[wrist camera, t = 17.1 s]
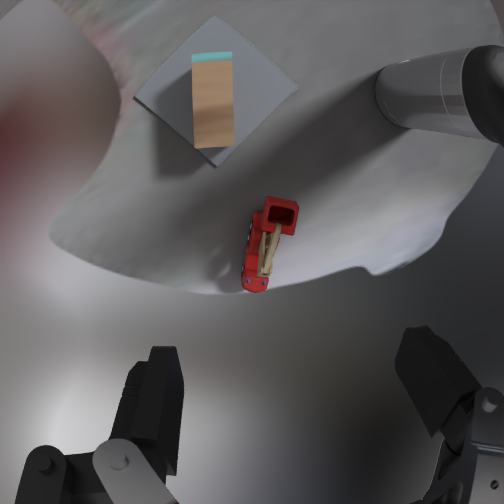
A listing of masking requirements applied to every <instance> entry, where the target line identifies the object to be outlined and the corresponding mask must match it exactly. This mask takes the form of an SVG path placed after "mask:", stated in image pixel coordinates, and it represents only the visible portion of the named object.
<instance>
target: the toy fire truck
mask: <svg viewBox="0 0 504 504" xmlns="http://www.w3.org/2000/svg"><path fill="white" fill-rule="evenodd" d="M298 212H299V206H298V204H297V202H295V201H290V200H284V199H280V198H275V197H270V196H267V197H266V200H265V205H264V209H263V212H262V213H261V212H254V213H253V221H251V224H250V231H251V233H249V234H248V240H247V243H248V244H247V248H246V253H245V259H244V264H243V266H242V274H241V282H242V287H243V288H244V289H245V290H247V291H250V292H253V293H258V292H262V291H265V290H266V289H267V285H268V281H269V279H268V277H269V276H270V274H271V273H272V259H273V256H274V253H275V250H276V248H277V246H278V243H279V239H280V237H279V236H280V234H286V235H291V236H292V235H294V232H295V227H296V222H297V217H298Z"/></svg>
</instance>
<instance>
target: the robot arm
mask: <svg viewBox="0 0 504 504" xmlns="http://www.w3.org/2000/svg"><path fill="white" fill-rule="evenodd" d="M375 96H376V100H377V103H378V106H379V108H380V110H381V111H382V113H383V114H384V116H385V117H386V118H387V119H388V120H389V121H391V122H392V123H394V124H396V125H398V126H400V127H405V128H414V129H421V130H428V131H436V132H442V133H448V134H455V135H460V136H466V137H471V138H477V139H482V140H486V141H491V142H495V143H499V144H501V145H502V146H503V147H504V47H502V46H497V45H487V46H479V47H473V48H466V49H460V50H455V51H449V52H444V53H439V54H434V55H429V56H424V57H420V58H415V59H411V60H406V61H402V62H398V63H394V64H391V65H389V66H386V67H385V68H384V69H383V70H381V72H380V73H379V75H378V77H377V80H376V84H375ZM395 370H396V373H397V375H398V377H399V379H400V380H401V382H402V384H403V386H404V387H405V390H406V391H407V393H408V395H409V397H410V399H411V400H412V402H413V404H414V406H415V408H416V410H417V412H418V413H419V415H420V417H421V419H422V421H423V423H424V425H425V427H426V429H427V431H428V433H429V434H430V436H431V438H433V437H436V436H438V435H441V434H443V435H444V437H445V438H444V439H443V441H442V443H441V447H440V451H439V456H438V460H437V464H436V468H435V472H434V475H433V479H432V482H431V485H430V487H429V489H428V490H427V492H426V493H425V495H424V496H423V498H422V500H418V501H416V502H413V503H411V504H504V396H503V395H502V393H501V392H499V391H498V390H496V389H494V388H491V387H484V388H482V386H481V385H480V384H479V382H478V381H477V380H476V378H475V377H474V376H473V374H472V373H471V372H470V370H469V369H468V368H467V366H466V365H465V364H464V362H463V361H461V359H460V357H459V356H458V355H457V354H455V351H454V350H453V349H452V347H451V346H450V345H449V343H448V342H446V341H445V340H443V339H442V338H441V337H439V336H437V335H435V334H434V333H433V331H432V330H431V329H430V328H429V327H428V326H427V325H418V326H413V327H408V328H406V330H405V331H404V334H403V337H402V340H401V343H400V346H399V349H398V352H397V355H396V358H395ZM183 399H184V380H183V375H182V371H181V366H180V362H179V358H178V354H177V349H176V347H175V346H153V347H152V349H151V352H150V356H149V359H148V362H147V361H146V362H145V361H138V362H137V363H136V364H135V366H134V367H133V368H132V369H131V370H130V371H129V373H128V376H127V379H126V382H125V387H124V389H123V392H122V397H121V399H120V403H119V406H118V410H117V413H116V417H115V421H114V424H113V428H112V432H111V435H110V437H109V439H108V440H107V441H105V442H104V443H102V444H100V445H99V446H98V448H97V449H96V450H95V451H93V452H90V453H82V454H72V455H63V454H62V452H61V451H60V450H59V449H57V448H55V447H53V446H49V445H43V446H39V447H37V448H35V449H33V451H31V452H30V454H29V455H28V457H27V459H26V463H25V466H24V469H23V473H22V476H21V480H20V484H19V487H18V491H17V496H16V500H15V504H179V502H178V501H177V500H176V499H175V498H174V497H173V495H172V494H171V493H170V491H169V490H168V489H167V488H166V486H165V484H166V475H173V476H176V473H177V460H178V449H179V437H180V428H181V418H182V408H183Z"/></svg>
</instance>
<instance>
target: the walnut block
mask: <svg viewBox="0 0 504 504" xmlns="http://www.w3.org/2000/svg"><path fill="white" fill-rule="evenodd" d="M192 97H193V124H194V145H195V148H209V147H227V146H235V142H234V108H233V68H232V52H213V53H199V54H192Z"/></svg>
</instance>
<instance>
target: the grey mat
mask: <svg viewBox="0 0 504 504" xmlns="http://www.w3.org/2000/svg"><path fill="white" fill-rule="evenodd" d="M213 52H232V68H233V108H234V142H235V146H227V147H209V148H196V149H197V150H199V151H200V152H201V153H202V154H203V155H204V156H205V157H207V158H208V159H209V160H210V161H211V162H212V163H213V164H215V165H216V166H217V167H219V165H220V164H221V163H222V162H223V161H224V160H225V159H226V158H227V157H228V156H229V155H230V154H231V153H232V152H233V151H234V150H235V149H236V148H237V147H238V146H239V145H240V144H241V143H242V142H243V141H244V140H245V139H246V138H247V136H248V135H249V134H250V133H251V132H252V131H253V130H254V129H255V128H257V127H258V126H259V125H260V124H261V123H262V122H263V121H264V120H265V119H266V118H267V117H268V116H269V115H270V114H271V113H272V112H273V111H274V110H275V109H276V108H277V107H278V106H279V105H280V104H281V103H282V102H283V101H285V100H286V99H287V98H288V97H289V96H290V95H291V94H292V93H293V92H294V91H295V90H296V89H297V88H299V87H298V86H297V85H296V84H295V83H294V82H293V81H292V80H291V79H290V78H289V77H288V76H287V75H286V74H285V73H284V72H283V71H282V70H280V69H279V68H278V67H277V66H276V65H275V64H274V63H273V62H272V61H271V60H270V59H268V58H267V57H266V56H265V55H264V54H263V53H262V52H260V51H259V50H258V49H257V48H256V47H255V46H253V45H252V44H251V43H250V42H249V41H248V40H246V39H245V38H244V37H243V36H241V35H240V34H239V33H238V32H236V31H235V30H234V29H233V28H231V27H230V26H229V25H228V24H226V23H225V22H224V21H222V20H221V19H220V18H218V17H217V16H216V15H214V16H212V17H211V18H210V19H209V20H208V21H207V22H206V23H204V24H203V25H202V26H201V27H200V28H199V29H198V30H197V31H195V32H194V33H193V34H192V35H191V36H190V37H189V38H188V39H187V40H186V41H185V42H184V43H183V44H182V45H181V46H180V47H179V48H178V49H177V50H176V51H175V52H174V53H173V54H172V55H171V56H170V57H169V58H168V59H167V60H166V61H165V62H164V63H163V64H162V65H161V66H160V67H159V68H158V69H157V70H156V71H155V73H154V74H153V75H152V76H151V77H150V78H149V79H148V80H147V81H146V83H145V84H144V85H143V86H142V87H141V88H140V89H139V91H138V92H137V93H136V94H135V95H134V96H135V97H136V98H137V99H139V100H140V101H141V102H142V103H143V104H145V105H146V106H147V107H148V108H149V109H151V110H152V111H153V112H154V113H155V114H157V115H158V116H159V117H160V118H161V119H163V120H164V121H165V122H166V123H167V124H168V125H170V126H171V127H172V128H173V129H174V130H176V131H177V132H178V133H179V134H180V135H181V136H182V137H184V138H185V139H186V140H187V141H188V142H189V143H191V144H192V145H193V146H194V147H195V145H194V124H193V97H192V54H199V53H213Z"/></svg>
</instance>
